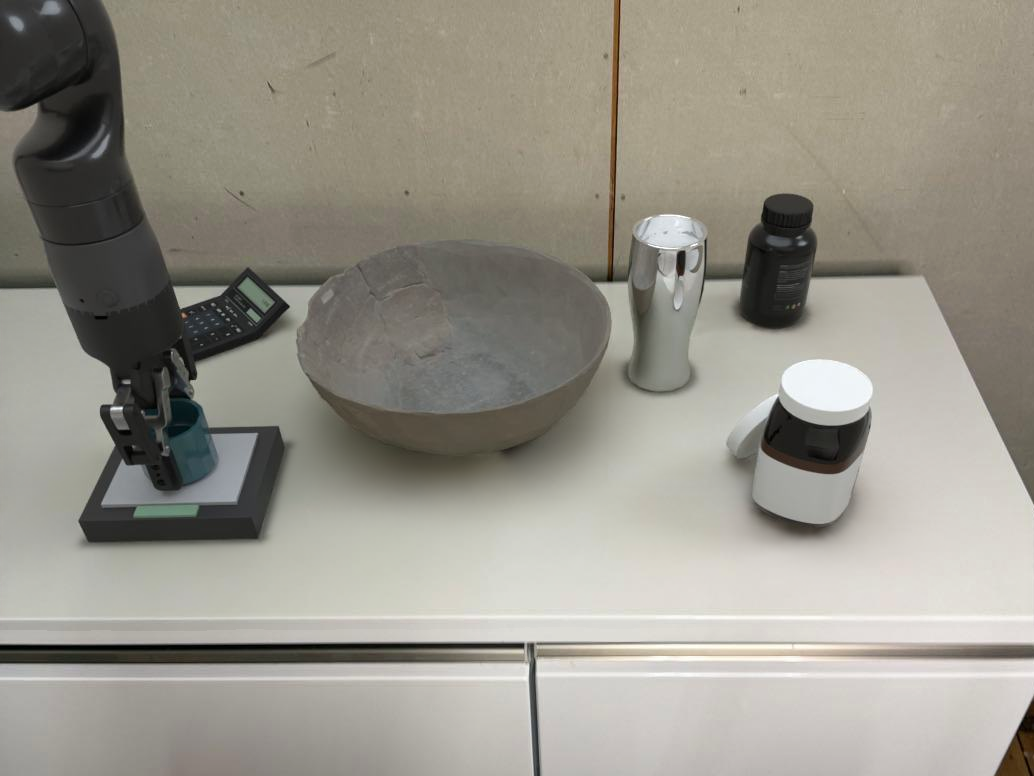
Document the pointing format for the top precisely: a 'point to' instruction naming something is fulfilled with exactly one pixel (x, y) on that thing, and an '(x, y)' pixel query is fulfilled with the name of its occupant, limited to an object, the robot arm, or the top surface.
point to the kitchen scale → (189, 494)
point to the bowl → (454, 344)
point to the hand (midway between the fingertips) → (180, 461)
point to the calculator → (232, 316)
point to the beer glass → (664, 297)
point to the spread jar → (807, 442)
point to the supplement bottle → (779, 262)
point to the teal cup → (188, 440)
